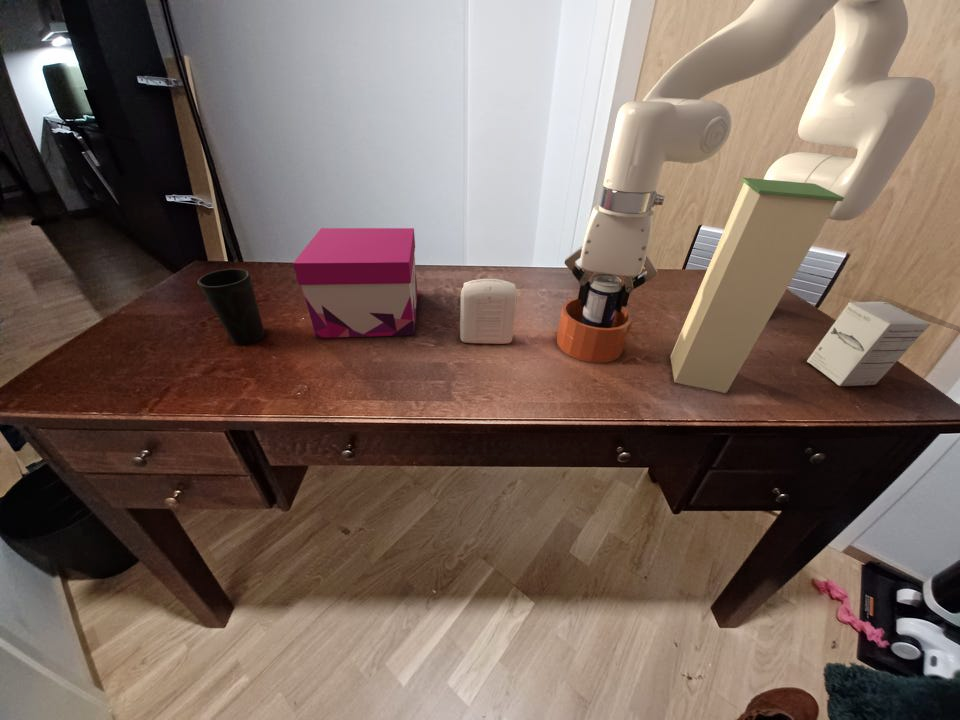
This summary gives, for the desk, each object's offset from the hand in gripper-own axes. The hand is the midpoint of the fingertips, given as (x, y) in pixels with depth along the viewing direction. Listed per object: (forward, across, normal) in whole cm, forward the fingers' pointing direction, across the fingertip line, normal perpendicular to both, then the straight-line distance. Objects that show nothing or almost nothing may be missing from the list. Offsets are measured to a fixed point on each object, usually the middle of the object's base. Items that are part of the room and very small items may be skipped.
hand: (600, 305), depth 66 cm
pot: (+8, 0, 0) cm, 8 cm away
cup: (+7, +62, +22) cm, 66 cm away
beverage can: (+7, 0, 0) cm, 7 cm away
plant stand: (+9, -18, +3) cm, 21 cm away
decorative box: (+8, +45, +5) cm, 46 cm away
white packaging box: (+9, -43, -6) cm, 45 cm away
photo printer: (+8, +20, +6) cm, 22 cm away
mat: (-21, -19, +3) cm, 29 cm away
